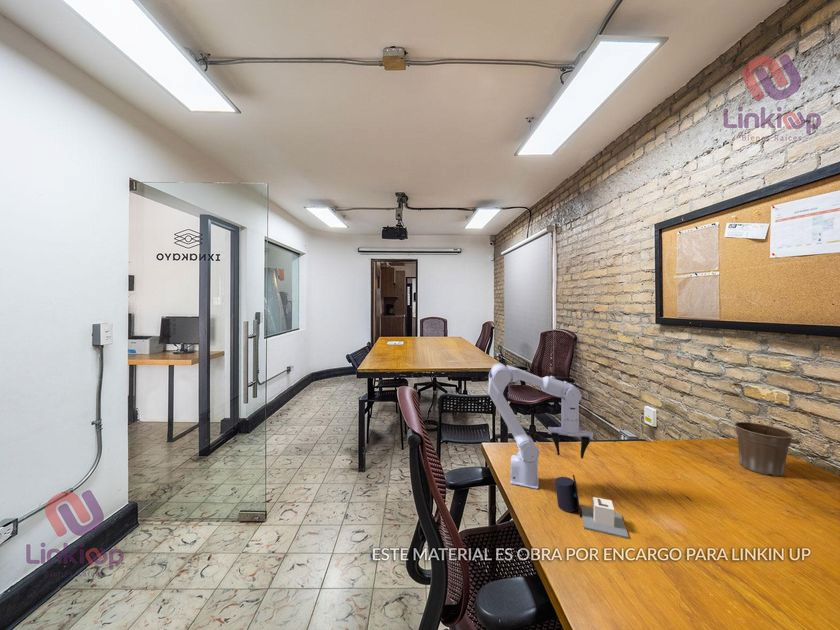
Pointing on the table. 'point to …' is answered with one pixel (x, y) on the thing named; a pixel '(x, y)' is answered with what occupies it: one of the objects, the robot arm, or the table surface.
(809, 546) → the table surface
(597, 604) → the table surface
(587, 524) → the pad
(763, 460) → the plant pot
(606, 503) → the letter cube
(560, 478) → the speaker
